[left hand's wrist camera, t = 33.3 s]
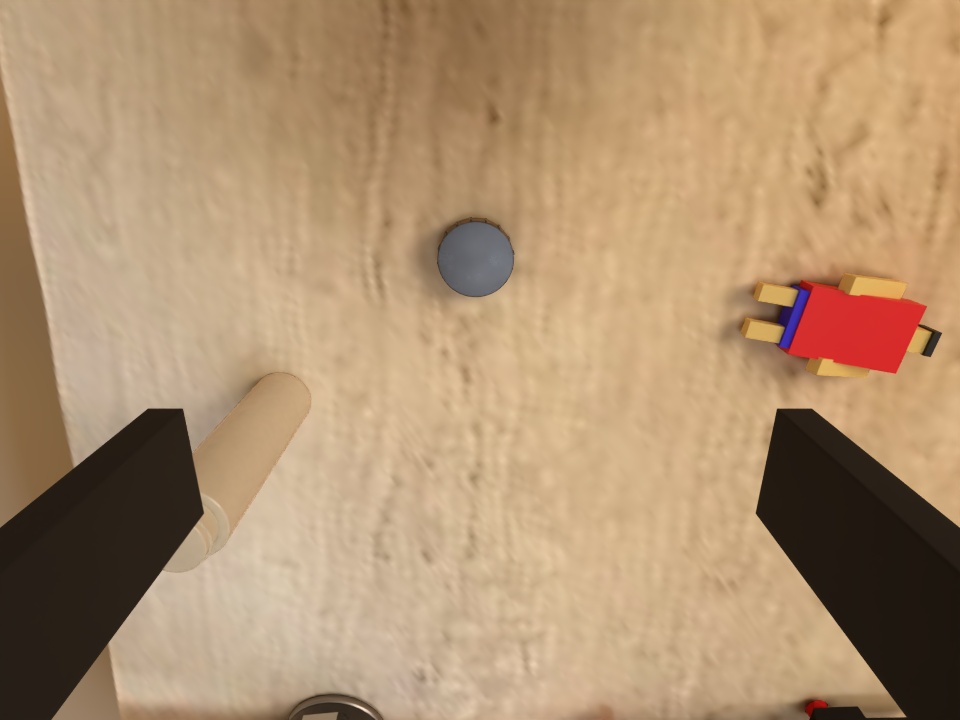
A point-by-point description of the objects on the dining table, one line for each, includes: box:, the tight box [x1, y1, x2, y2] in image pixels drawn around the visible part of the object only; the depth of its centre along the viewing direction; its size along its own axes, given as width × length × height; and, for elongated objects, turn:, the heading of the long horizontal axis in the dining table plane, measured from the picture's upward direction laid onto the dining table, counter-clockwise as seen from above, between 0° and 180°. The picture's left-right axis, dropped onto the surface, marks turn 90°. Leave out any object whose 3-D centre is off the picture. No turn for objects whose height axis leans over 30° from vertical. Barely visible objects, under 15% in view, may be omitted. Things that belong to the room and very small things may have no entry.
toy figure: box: [741, 273, 942, 378], centre depth 39 cm, size 2×7×12 cm
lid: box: [437, 217, 514, 297], centre depth 38 cm, size 5×5×2 cm
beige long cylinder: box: [163, 373, 311, 572], centre depth 35 cm, size 4×4×16 cm
